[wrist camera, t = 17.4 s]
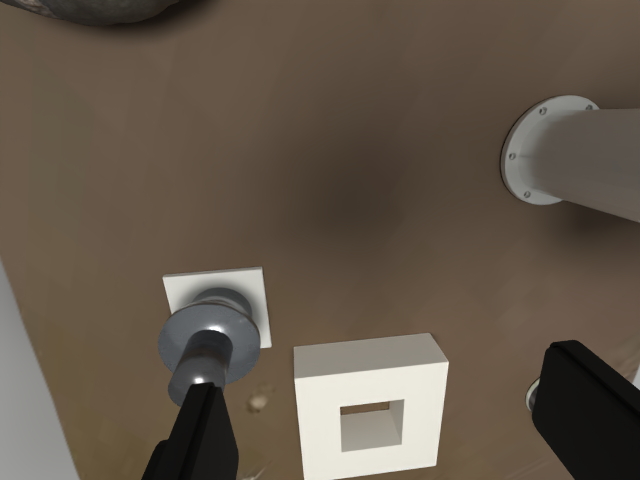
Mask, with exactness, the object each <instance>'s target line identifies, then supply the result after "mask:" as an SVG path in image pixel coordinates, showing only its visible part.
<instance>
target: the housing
mask: <svg viewBox="0 0 640 480" xmlns="http://www.w3.org/2000/svg"><path fill="white" fill-rule="evenodd" d="M448 364H449V361H448V360H447V358H446V357H445V355H444V354H443V352H442V351H441V349H440V348H439V346H438V345H437V343H436V342H435V340H434V339H433V337H432V336H431V334H430V333H422V334H413V335H403V336H393V337H383V338H374V339H364V340H354V341H345V342H335V343H325V344H315V345H306V346H296V347H294V379H295V389H296V399H297V409H298V419H299V429H300V439H301V449H302V460H303V470H304V480H333V479H340V478H347V477H355V476H362V475H370V474H377V473H385V472H392V471H400V470H407V469H415V468H422V467H430V466H436V460H437V452H438V444H439V436H440V428H441V420H442V412H443V404H444V396H445V388H446V380H447V372H448ZM384 401H390V404H389V410H380V411H372V412H364V413H355V414H347V415H340V407H342V406H350V405H359V404H367V403H376V402H384Z"/></svg>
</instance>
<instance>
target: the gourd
mask: <svg viewBox="0 0 640 480" xmlns="http://www.w3.org/2000/svg"><path fill="white" fill-rule="evenodd" d="M178 1H180V0H0V2H3V3H5V4H8V5H11V6H14V7H18V8H22V9H24V10H28V11H30V12H33V13H36V14H40V15H44V16H47V17H51V18H56V19H62V20H67V21H71V22H74V23H79V24H83V25H88V26H99V25H112V24H115V23H135V22H139V21H142V20H145V19H148V18H152V17H154V16H155V15H157V14H159V13H160V12H162V11H163V10H164V9H165V8H166V7H168V6H169V5H171V4H175V3H177V2H178Z"/></svg>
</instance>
